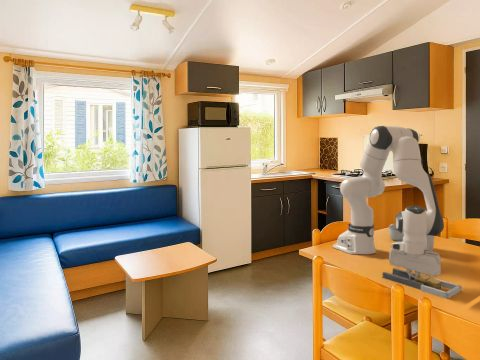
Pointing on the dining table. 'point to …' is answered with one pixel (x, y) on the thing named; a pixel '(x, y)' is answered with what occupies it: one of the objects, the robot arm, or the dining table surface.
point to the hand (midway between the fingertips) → (413, 280)
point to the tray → (448, 294)
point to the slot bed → (402, 278)
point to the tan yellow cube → (422, 278)
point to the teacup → (395, 233)
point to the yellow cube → (434, 283)
